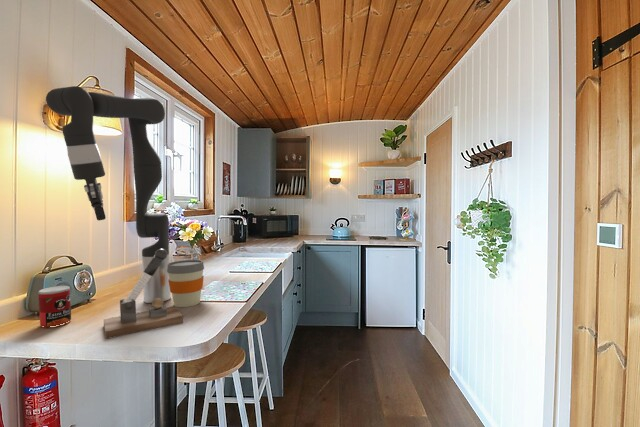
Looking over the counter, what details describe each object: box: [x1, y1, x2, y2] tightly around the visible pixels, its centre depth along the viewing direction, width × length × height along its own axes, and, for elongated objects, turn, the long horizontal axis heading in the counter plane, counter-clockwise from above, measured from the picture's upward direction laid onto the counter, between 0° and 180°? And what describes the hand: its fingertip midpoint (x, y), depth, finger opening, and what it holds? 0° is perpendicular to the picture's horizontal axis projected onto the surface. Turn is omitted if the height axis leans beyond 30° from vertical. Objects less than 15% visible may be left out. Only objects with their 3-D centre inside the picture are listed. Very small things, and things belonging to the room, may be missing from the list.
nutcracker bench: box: [103, 298, 184, 339], centre depth 101 cm, size 12×20×8 cm, turn 125°
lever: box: [122, 249, 168, 303], centre depth 101 cm, size 4×4×20 cm
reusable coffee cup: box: [167, 259, 205, 308], centre depth 121 cm, size 13×13×15 cm
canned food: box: [38, 285, 72, 327], centre depth 103 cm, size 8×8×11 cm
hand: (101, 219), depth 99 cm, fingers closed
